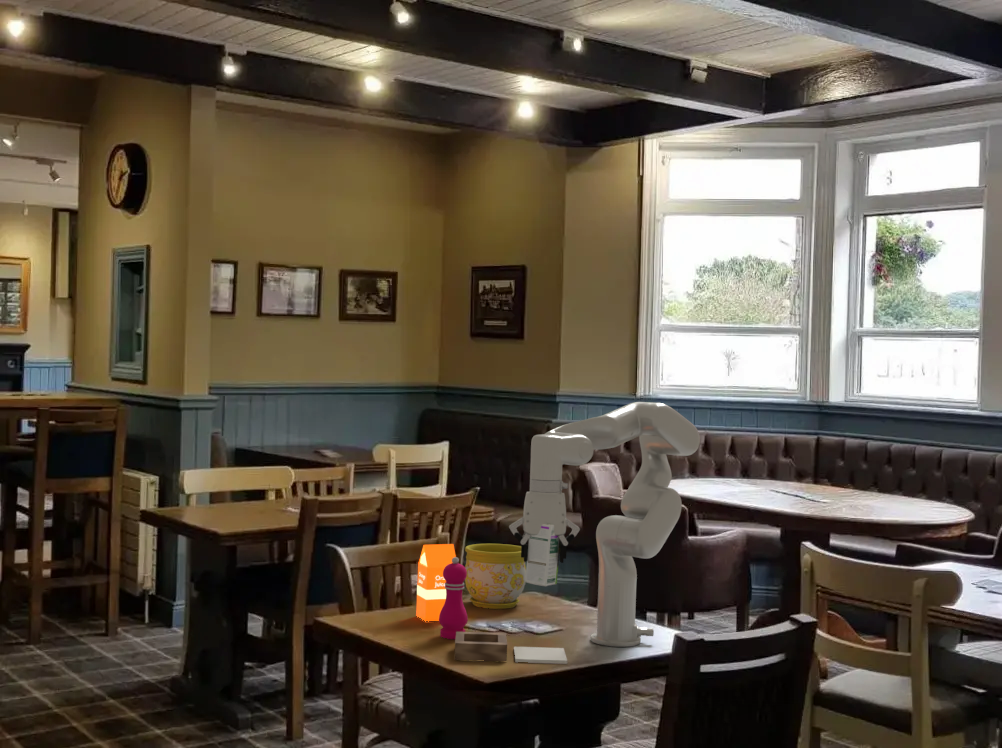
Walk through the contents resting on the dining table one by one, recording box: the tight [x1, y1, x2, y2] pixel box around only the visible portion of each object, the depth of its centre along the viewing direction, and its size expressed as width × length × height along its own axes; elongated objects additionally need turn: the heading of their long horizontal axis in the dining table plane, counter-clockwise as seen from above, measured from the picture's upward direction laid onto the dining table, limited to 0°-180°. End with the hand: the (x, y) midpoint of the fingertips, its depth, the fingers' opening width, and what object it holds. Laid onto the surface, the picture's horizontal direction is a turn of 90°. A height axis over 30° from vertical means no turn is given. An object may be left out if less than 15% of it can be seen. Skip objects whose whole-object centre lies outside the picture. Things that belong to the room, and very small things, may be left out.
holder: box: [454, 631, 508, 662], centre depth 265 cm, size 12×12×4 cm
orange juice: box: [415, 543, 457, 623], centre depth 304 cm, size 8×9×20 cm
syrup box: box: [525, 523, 561, 587], centre depth 265 cm, size 6×6×14 cm
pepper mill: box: [438, 556, 469, 640], centre depth 283 cm, size 7×7×20 cm
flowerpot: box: [464, 543, 527, 610], centre depth 325 cm, size 18×18×16 cm
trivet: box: [513, 646, 568, 665], centre depth 265 cm, size 12×12×1 cm
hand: (543, 560), depth 265 cm, fingers closed on syrup box, 8 cm apart
